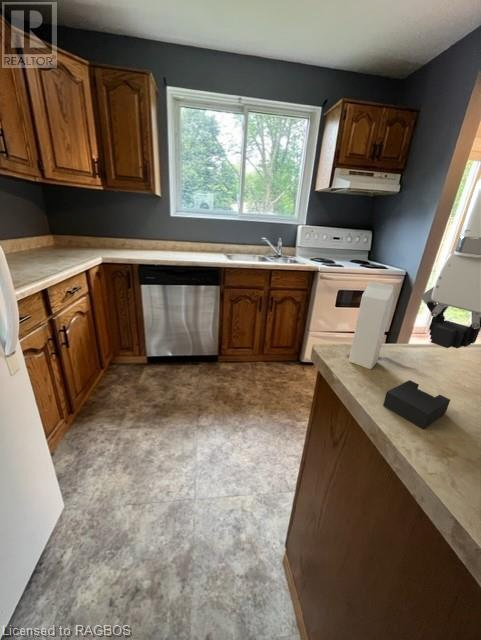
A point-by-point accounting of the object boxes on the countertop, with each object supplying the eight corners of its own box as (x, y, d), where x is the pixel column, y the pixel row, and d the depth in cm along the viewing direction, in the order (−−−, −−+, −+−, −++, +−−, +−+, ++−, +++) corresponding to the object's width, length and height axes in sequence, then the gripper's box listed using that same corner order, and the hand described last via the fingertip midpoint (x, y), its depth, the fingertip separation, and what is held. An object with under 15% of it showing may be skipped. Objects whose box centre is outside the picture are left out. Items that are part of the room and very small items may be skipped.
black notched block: (405, 393, 61) (409, 379, 60) (445, 413, 55) (450, 399, 54) (382, 405, 57) (386, 391, 56) (423, 429, 50) (428, 414, 49)
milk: (370, 369, 71) (391, 287, 63) (347, 361, 74) (364, 282, 67) (377, 361, 75) (397, 283, 67) (355, 354, 79) (371, 279, 71)
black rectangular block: (440, 335, 59) (445, 320, 58) (468, 344, 55) (474, 328, 54) (425, 340, 56) (430, 324, 54) (453, 350, 52) (459, 333, 50)
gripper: (553, 254, 45) (509, 353, 51) (439, 244, 58) (415, 323, 64) (541, 255, 41) (495, 361, 47) (421, 244, 54) (398, 328, 60)
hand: (449, 338), depth 56 cm, fingers closed on black rectangular block, 5 cm apart
